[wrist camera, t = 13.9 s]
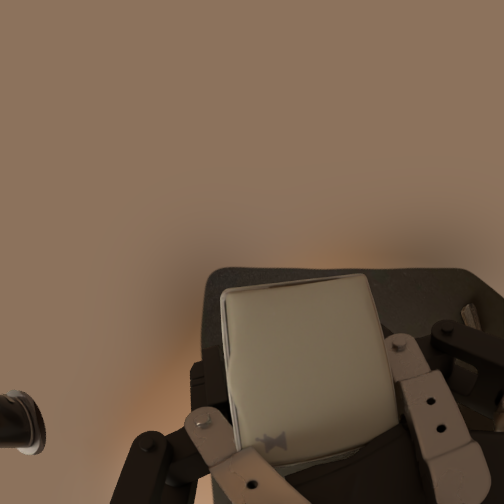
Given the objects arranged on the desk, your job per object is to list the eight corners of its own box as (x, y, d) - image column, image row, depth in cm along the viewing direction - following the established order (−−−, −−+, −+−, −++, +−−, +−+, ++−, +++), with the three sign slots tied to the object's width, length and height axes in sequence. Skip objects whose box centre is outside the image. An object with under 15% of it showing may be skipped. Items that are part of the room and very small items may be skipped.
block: (467, 346, 28) (475, 343, 26) (457, 309, 31) (464, 305, 29) (481, 338, 28) (488, 335, 27) (471, 303, 31) (477, 299, 29)
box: (320, 416, 14) (404, 444, 5) (252, 427, 14) (236, 482, 5) (308, 340, 17) (368, 265, 7) (243, 349, 17) (216, 285, 7)
